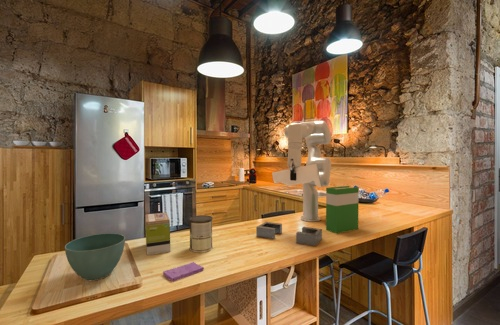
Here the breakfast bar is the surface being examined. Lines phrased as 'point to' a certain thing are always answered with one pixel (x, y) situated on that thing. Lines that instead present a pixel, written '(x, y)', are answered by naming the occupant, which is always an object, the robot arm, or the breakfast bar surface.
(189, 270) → the sponges
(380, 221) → the breakfast bar surface
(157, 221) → the tea box
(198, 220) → the coffee can
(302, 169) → the cream elongated piece
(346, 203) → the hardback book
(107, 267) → the green round bowl
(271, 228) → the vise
